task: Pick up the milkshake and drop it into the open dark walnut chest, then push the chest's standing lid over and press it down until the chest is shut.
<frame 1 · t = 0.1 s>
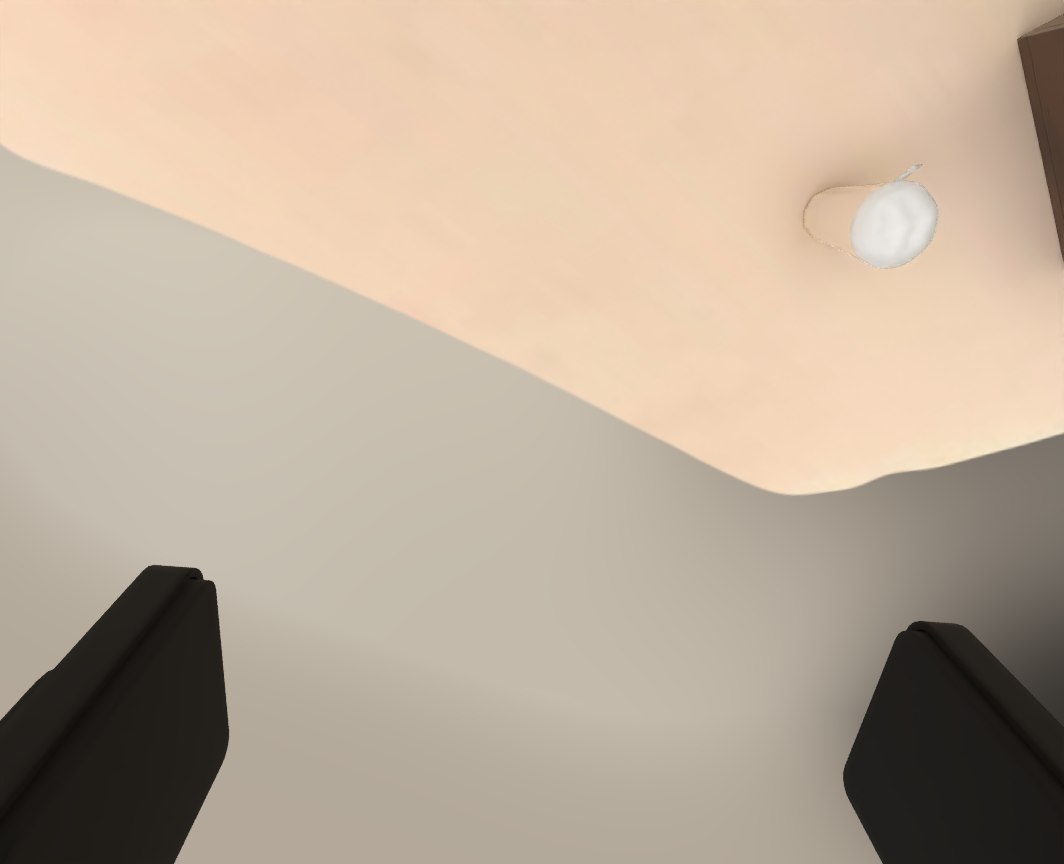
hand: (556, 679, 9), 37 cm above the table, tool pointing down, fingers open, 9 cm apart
milkshake: (826, 207, 43), on the table
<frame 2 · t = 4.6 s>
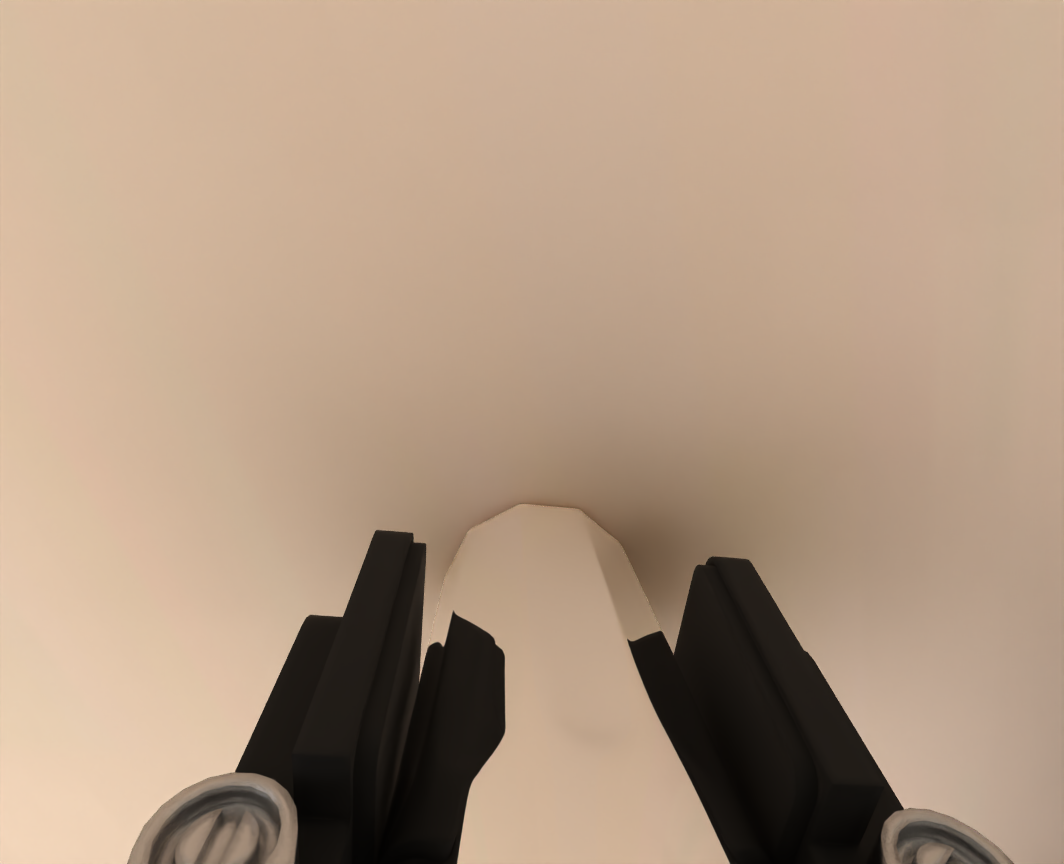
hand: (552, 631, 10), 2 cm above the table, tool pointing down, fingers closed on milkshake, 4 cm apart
milkshake: (546, 555, 12), on the table, touching gripper
when the fingers open (10 cm above the table, at t = 14.1 s): milkshake drops 6 cm, resting on chest.
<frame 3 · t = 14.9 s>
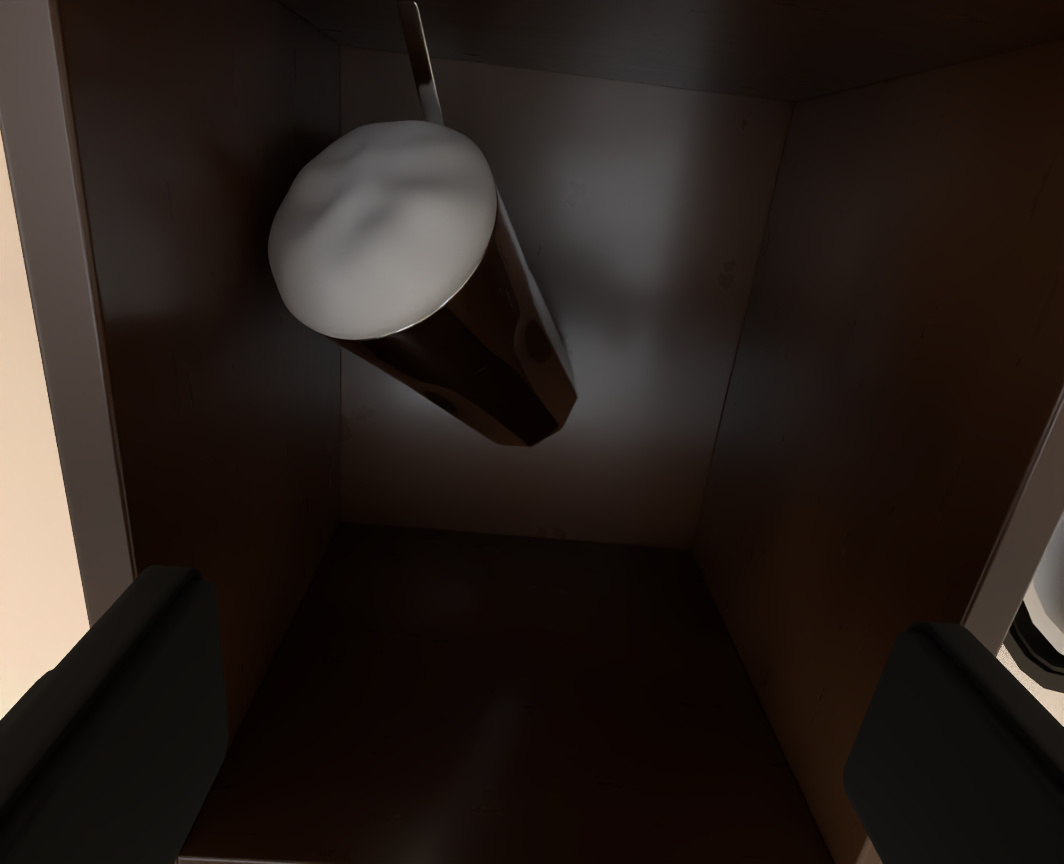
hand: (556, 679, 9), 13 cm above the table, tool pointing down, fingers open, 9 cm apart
chest: (540, 329, 20), on the table
milkshake: (533, 387, 19), point 2 cm above the table, touching chest
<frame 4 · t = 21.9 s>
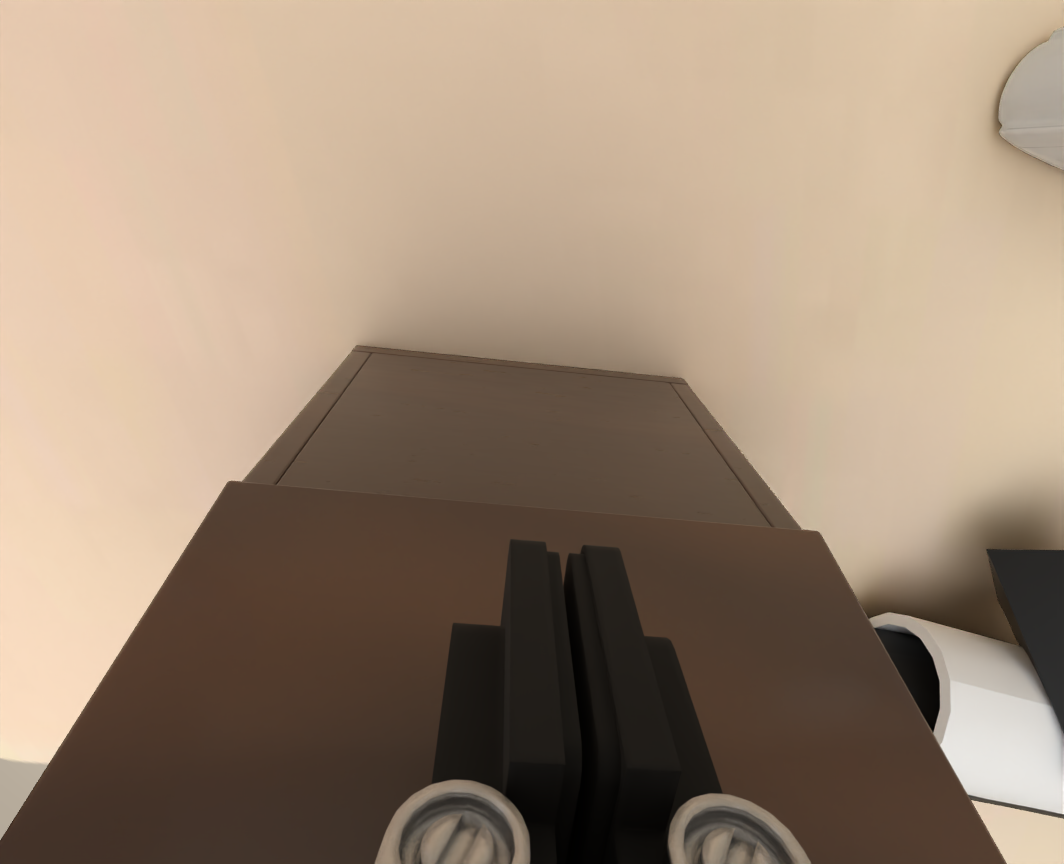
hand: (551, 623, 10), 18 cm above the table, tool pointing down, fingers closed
chest: (504, 525, 30), on the table
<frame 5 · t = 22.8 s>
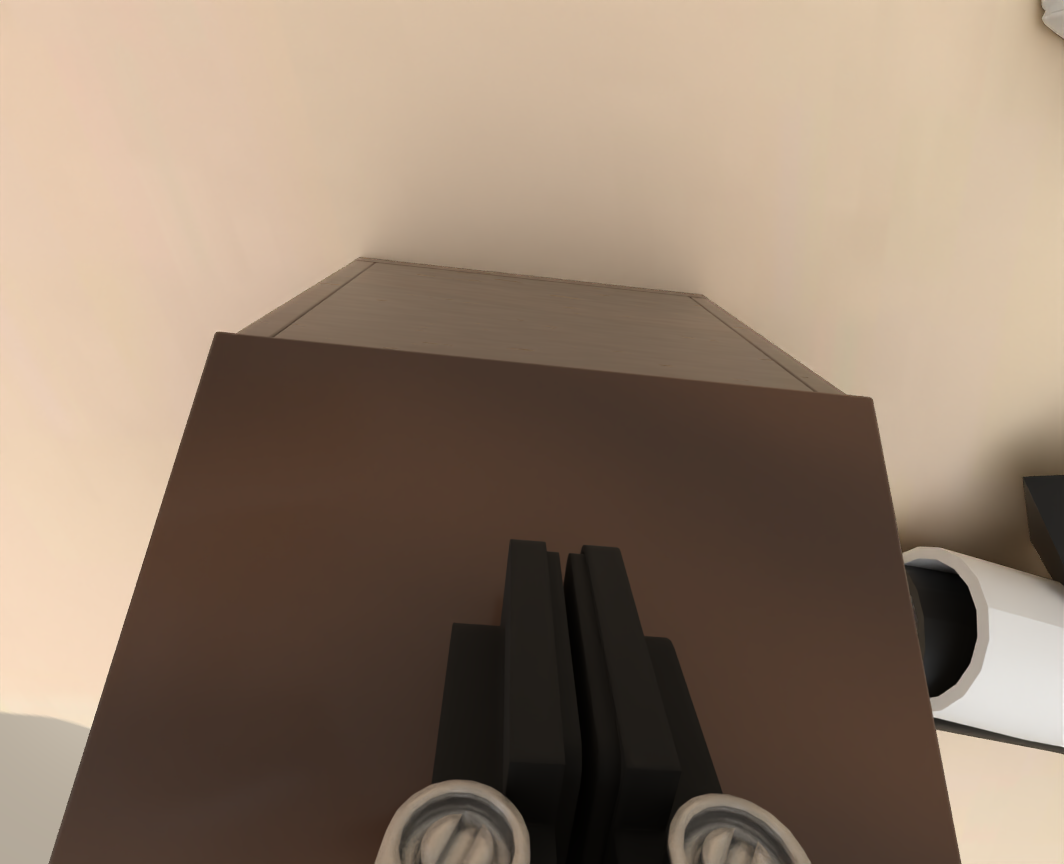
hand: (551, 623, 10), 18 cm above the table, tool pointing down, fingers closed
chest: (514, 456, 28), on the table
lid: (531, 827, 10), point 19 cm above the table, hinge at 47.4°, touching gripper
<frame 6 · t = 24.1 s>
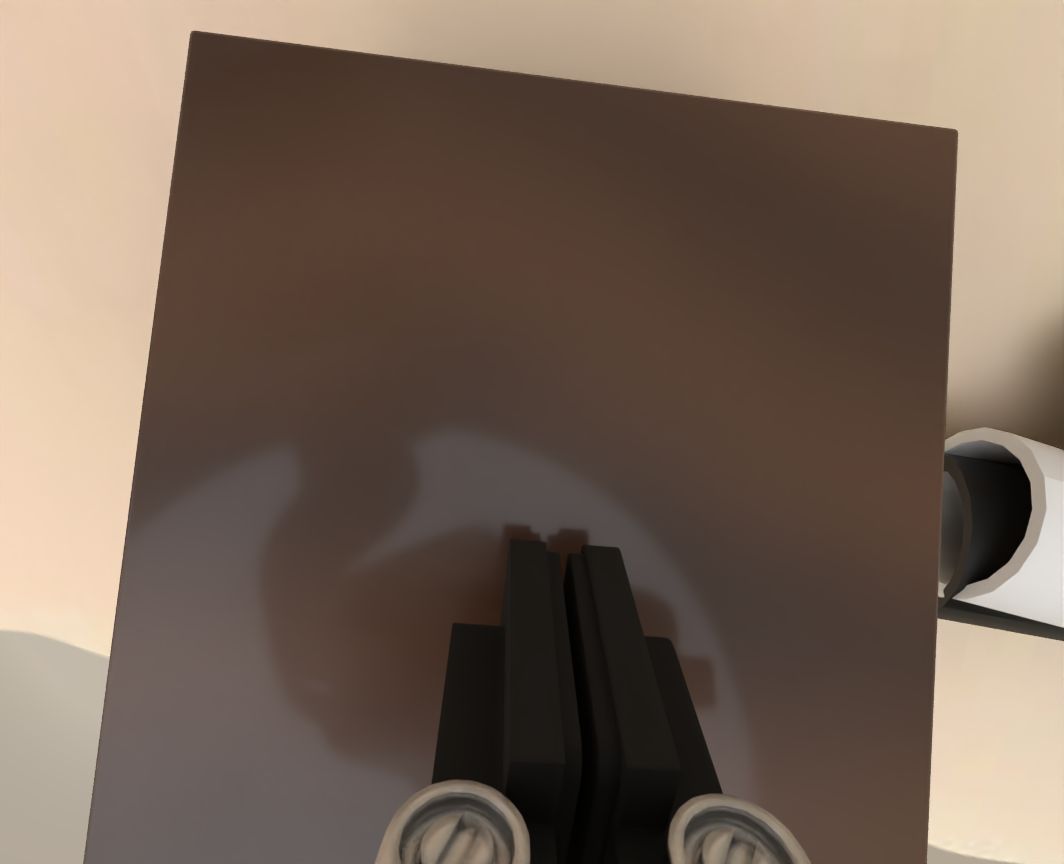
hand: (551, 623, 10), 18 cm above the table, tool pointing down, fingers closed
lid: (548, 550, 11), point 16 cm above the table, hinge at 26.2°, touching gripper
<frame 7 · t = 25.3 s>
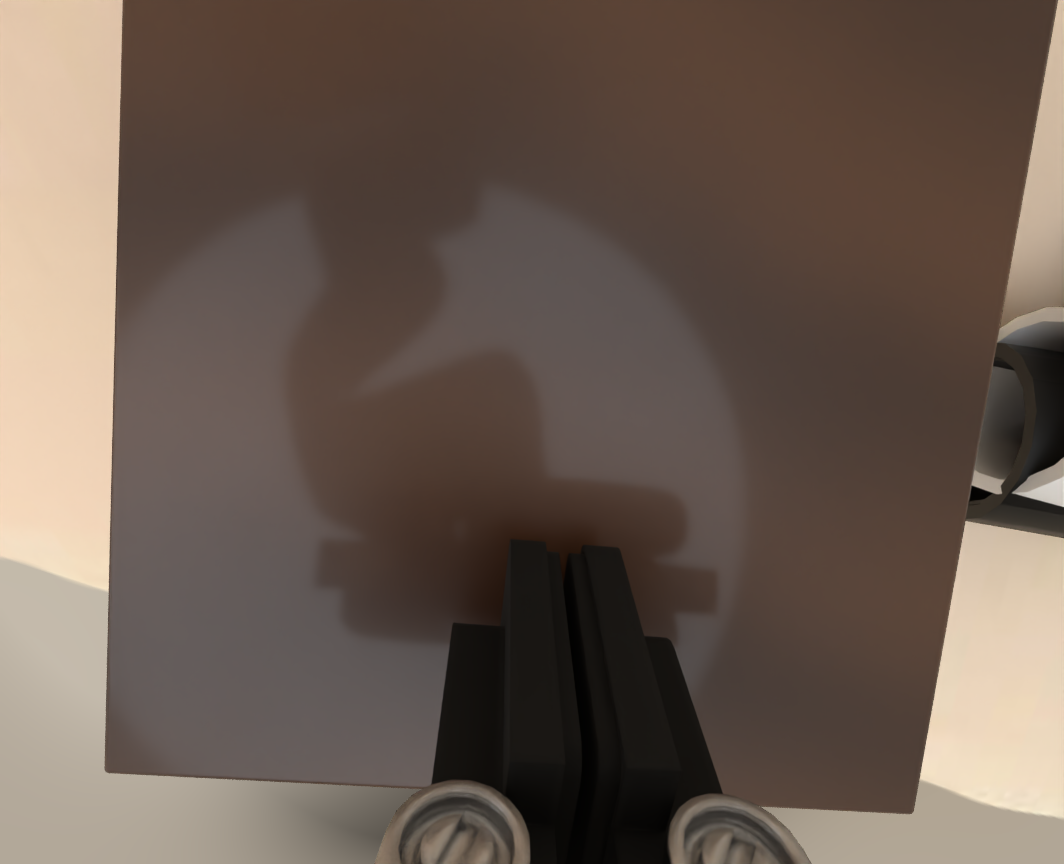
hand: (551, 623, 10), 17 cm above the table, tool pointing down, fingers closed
lid: (574, 300, 10), point 15 cm above the table, hinge at 15.9°, touching gripper
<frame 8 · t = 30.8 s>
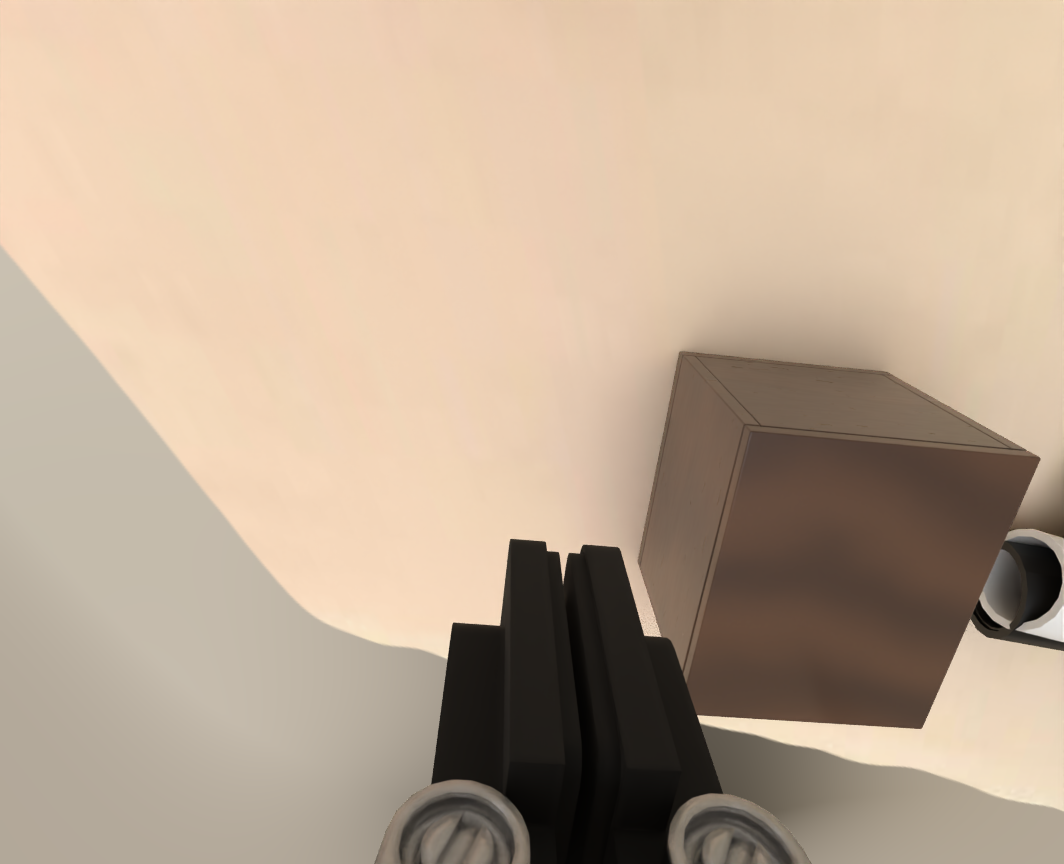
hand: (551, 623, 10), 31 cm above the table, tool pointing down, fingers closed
chest: (755, 472, 44), on the table
lid: (841, 591, 32), point 13 cm above the table, hinge at 0.3°
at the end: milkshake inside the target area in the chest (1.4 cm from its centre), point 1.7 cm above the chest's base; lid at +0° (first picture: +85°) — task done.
